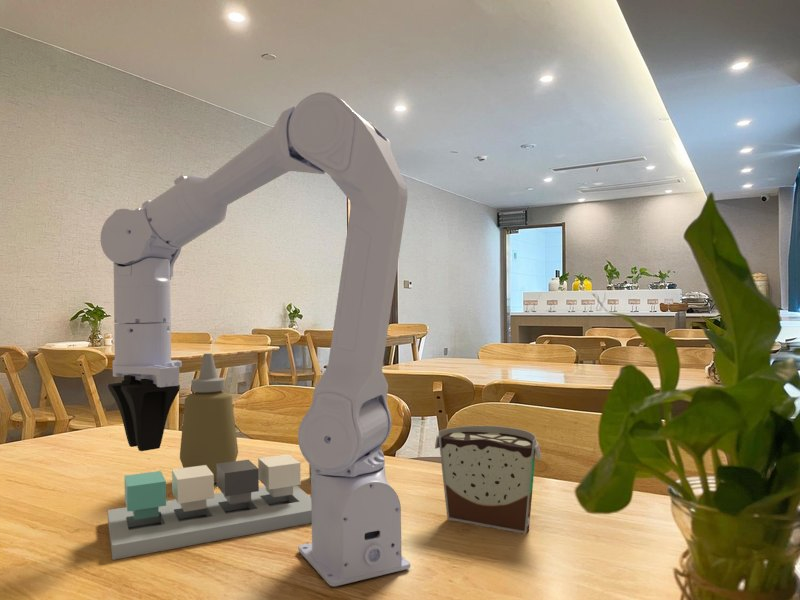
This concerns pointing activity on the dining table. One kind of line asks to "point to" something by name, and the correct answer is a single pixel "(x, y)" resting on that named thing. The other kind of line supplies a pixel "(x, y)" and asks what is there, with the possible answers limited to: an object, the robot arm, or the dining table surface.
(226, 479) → the dark gray key
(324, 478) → the robot arm
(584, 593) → the dining table surface
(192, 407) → the squeeze bottle
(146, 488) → the teal key
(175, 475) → the middle ivory key
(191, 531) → the selector panel
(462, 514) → the food container
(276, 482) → the near ivory key
